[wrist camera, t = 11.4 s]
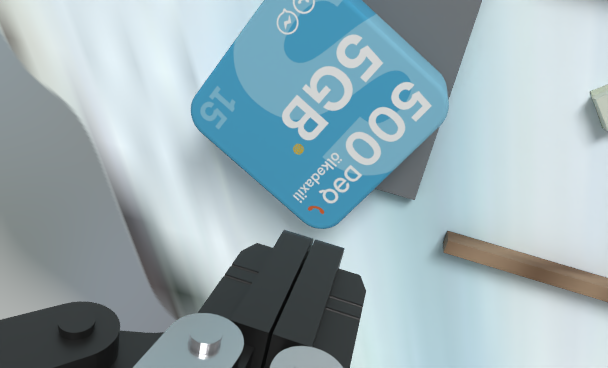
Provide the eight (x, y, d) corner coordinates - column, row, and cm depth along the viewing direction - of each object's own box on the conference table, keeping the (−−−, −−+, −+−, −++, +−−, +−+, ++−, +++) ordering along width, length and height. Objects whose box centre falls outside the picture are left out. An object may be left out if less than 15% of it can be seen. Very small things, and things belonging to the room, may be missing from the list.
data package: (296, -48, 26) (462, 105, 27) (315, -44, 30) (458, 89, 31) (179, 115, 32) (321, 240, 32) (208, 100, 36) (334, 211, 36)
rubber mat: (484, -13, 30) (486, -13, 29) (415, 194, 36) (414, 200, 35) (354, -42, 31) (352, -43, 30) (307, 163, 37) (304, 168, 36)
